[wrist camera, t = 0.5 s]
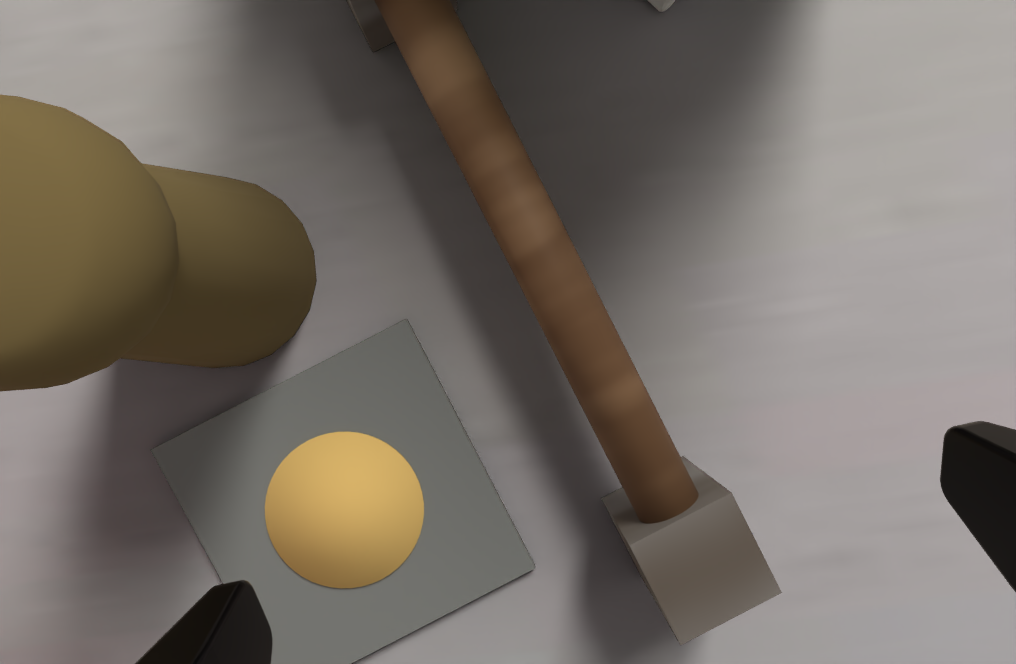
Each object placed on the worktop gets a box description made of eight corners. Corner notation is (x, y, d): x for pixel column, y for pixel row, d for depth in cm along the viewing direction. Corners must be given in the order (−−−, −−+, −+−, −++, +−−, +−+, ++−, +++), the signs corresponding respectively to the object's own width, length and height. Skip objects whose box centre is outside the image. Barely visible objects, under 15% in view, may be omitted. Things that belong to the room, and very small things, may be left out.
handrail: (723, 536, 22) (781, 592, 18) (642, 578, 22) (680, 645, 18) (413, -78, 21) (394, -179, 17) (328, -35, 21) (286, -124, 17)
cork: (83, 282, 21) (-345, 256, 10) (208, 137, 21) (-89, -45, 10) (232, 407, 22) (-31, 508, 11) (355, 263, 22) (219, 216, 11)
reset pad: (534, 564, 22) (535, 569, 22) (288, 692, 22) (284, 699, 22) (407, 318, 22) (405, 318, 21) (155, 447, 22) (149, 450, 21)
